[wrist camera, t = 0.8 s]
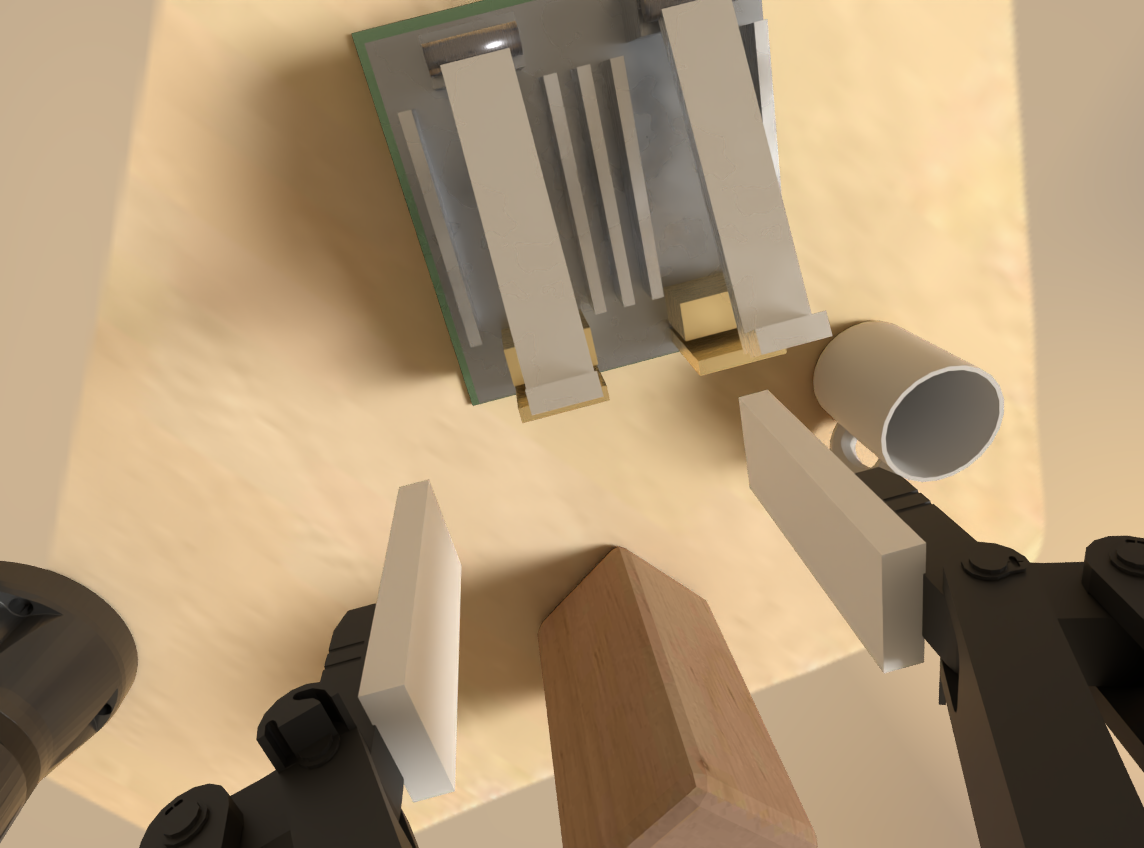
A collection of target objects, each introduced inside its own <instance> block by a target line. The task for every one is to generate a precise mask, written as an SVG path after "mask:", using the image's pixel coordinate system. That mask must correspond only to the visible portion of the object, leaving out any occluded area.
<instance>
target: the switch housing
mask: <svg viewBox="0 0 1144 848" xmlns="http://www.w3.org/2000/svg"><path fill="white" fill-rule="evenodd" d="M732 3H733V7H734V11H735V15H736V19H737V23H738V27H739V31H740V35H741V38H742V42H743V46H744V50H745V54H746V58H747V62H748V66H749V70H750V74H751V78H752V82H753V86H754V90H755V94H756V98H757V101H758V105H759V109H760V113H761V117H762V121H763V125H764V129H765V133H766V137H767V141H768V145H769V149H770V153H771V157H772V160H773V164H774V168H775V172H776V176H777V180H778V184H779V188H780V192H781V182H780V170H779V158H778V145H777V133H776V120H775V108H774V96H773V83H772V71H771V58H770V46H769V34H768V21H767V19H765V20H763V11H762V0H736V1H732ZM512 21H516V24H517V27H518V31H519V35H520V40H521V44H522V50H523V55H519V56H515V57H512V60H513V64H514V67H515V71H516V75H517V79H518V83H519V87H520V90H521V94H522V98H523V102H524V106H525V109H526V113H527V117H528V121H529V125H530V128H531V132H532V136H533V140H534V144H535V147H536V151H537V155H538V159H539V163H540V166H541V170H542V174H543V178H544V182H545V185H546V189H547V193H548V197H549V201H550V204H551V208H552V212H553V216H554V220H555V224H556V227H557V231H558V235H559V239H560V243H561V246H562V250H563V254H564V258H565V262H566V265H567V269H568V273H569V277H570V281H571V284H572V288H573V292H574V296H575V300H576V303H577V307H578V311H579V315H580V319H581V322H582V326H583V330H584V334H585V338H586V342H587V345H588V349H589V353H590V357H591V361H592V364H593V368H594V371H597V373H598V377H599V381H600V384H601V388H602V392H603V396H604V397H600V398H597V399H593V400H589V401H585V402H581V403H578V404H574V405H570V406H566V407H562V408H559V409H555V410H551V411H547V412H544V413H540V414H536V415H532V414H531V410H530V407H529V403H528V399H527V395H526V392H525V390H526V387H525V383H524V379H523V375H522V372H521V368H520V364H519V360H518V357H517V353H516V349H515V345H514V341H513V338H512V334H511V330H510V326H509V323H508V319H507V315H506V311H505V308H504V304H503V300H502V296H501V292H500V289H499V285H498V281H497V277H496V274H495V270H494V266H493V262H492V259H491V255H490V251H489V247H488V244H487V240H486V236H485V232H484V228H483V225H482V221H481V217H480V213H479V210H478V206H477V202H476V198H475V195H474V191H473V187H472V183H471V179H470V176H469V172H468V168H467V164H466V161H465V157H464V153H463V149H462V146H461V142H460V138H459V134H458V130H457V127H456V123H455V119H454V115H453V112H452V108H451V104H450V100H449V97H448V93H447V89H446V85H445V82H444V78H443V75H440V76H436V77H432V78H431V76H430V73H429V70H428V67H427V64H426V60H425V57H424V53H423V49H422V45H421V44H424V43H428V42H432V41H436V40H440V39H444V38H448V37H452V36H456V35H460V34H464V33H468V32H472V31H476V30H480V29H484V28H488V27H492V26H496V25H500V24H504V23H508V22H512ZM352 37H353V40H354V43H355V46H356V49H357V52H358V55H359V58H360V61H361V65H362V68H363V71H364V74H365V77H366V80H367V83H368V86H369V89H370V92H371V95H372V98H373V101H374V104H375V108H376V111H377V114H378V117H379V120H380V123H381V126H382V129H383V132H384V135H385V138H386V141H387V144H388V147H389V150H390V154H391V157H392V160H393V163H394V166H395V169H396V172H397V175H398V178H399V181H400V184H401V187H402V190H403V193H404V196H405V200H406V203H407V206H408V209H409V212H410V215H411V218H412V221H413V224H414V227H415V230H416V233H417V236H418V239H419V243H420V246H421V249H422V252H423V255H424V258H425V261H426V264H427V267H428V270H429V273H430V276H431V279H432V282H433V285H434V289H435V292H436V295H437V298H438V301H439V304H440V307H441V310H442V313H443V316H444V319H445V322H446V325H447V328H448V331H449V335H450V338H451V341H452V344H453V347H454V350H455V353H456V356H457V359H458V362H459V365H460V368H461V371H462V374H463V378H464V381H465V384H466V387H467V390H468V393H469V396H470V399H471V402H472V405H473V406H474V405H478V404H482V403H486V402H489V401H493V400H497V399H501V398H505V397H508V396H512V395H516V396H517V403H518V409H519V413H520V416H521V420H522V423H525V422H529V421H532V420H536V419H540V418H544V417H548V416H551V415H555V414H559V413H563V412H566V411H570V410H574V409H578V408H582V407H585V406H589V405H593V404H597V403H601V402H604V401H608V400H610V399H609V394H608V390H607V385H606V383H605V381H604V379H603V377H602V375H601V373H600V372H603V371H607V370H611V369H615V368H618V367H622V366H626V365H630V364H634V363H637V362H641V361H645V360H649V359H653V358H656V357H660V356H664V355H668V354H672V353H675V352H679V351H680V352H681V353H682V355H683V356H684V357H685V358H686V359H687V361H688V362H689V363H690V364H691V365H692V367H693V368H694V369H695V370H696V371H697V373H698V374H699V375H700V376H703V375H706V374H710V373H714V372H718V371H722V370H725V369H729V368H733V367H737V366H741V365H744V364H748V363H752V362H756V361H759V360H763V359H767V358H771V357H775V356H778V355H782V354H786V353H787V350H786V349H782V350H778V351H775V352H771V353H767V354H763V355H759V356H756V357H752V358H751V356H750V353H748V354H744V352H743V349H742V345H741V341H740V337H739V333H738V329H737V325H736V321H735V317H734V314H733V310H732V306H731V302H730V298H729V294H728V290H727V286H726V282H725V279H724V275H723V271H722V267H721V263H720V259H719V255H718V251H717V247H716V244H715V240H714V236H713V232H712V228H711V224H710V220H709V216H708V212H707V208H706V205H705V201H704V197H703V193H702V189H701V185H700V181H699V177H698V173H697V170H696V166H695V162H694V158H693V154H692V150H691V146H690V142H689V138H688V135H687V131H686V127H685V123H684V119H683V115H682V111H681V107H680V103H679V100H678V96H677V92H676V88H675V84H674V80H673V76H672V72H671V68H670V65H669V61H668V57H667V53H666V49H665V45H664V41H663V37H662V33H661V30H660V26H659V22H658V20H657V21H653V22H649V23H646V22H645V20H644V18H643V14H642V9H641V0H483V1H479V2H475V3H471V4H467V5H463V6H459V7H455V8H451V9H447V10H443V11H439V12H435V13H431V14H427V15H423V16H419V17H415V18H411V19H408V20H404V21H400V22H396V23H392V24H388V25H384V26H380V27H376V28H372V29H368V30H364V31H360V32H356V33H352ZM781 196H782V195H781Z"/></svg>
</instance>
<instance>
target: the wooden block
mask: <svg viewBox="0 0 1144 848" xmlns="http://www.w3.org/2000/svg"><path fill="white" fill-rule="evenodd" d="M538 641H539V649H540V658H541V666H542V674H543V683H544V691H545V700H546V708H547V717H548V725H549V733H550V742H551V750H552V759H553V767H554V776H555V784H556V792H557V801H558V809H559V818H560V826H561V835H562V843H563V848H817V847H818V844H817V837H816V834H815V832H814V830H813V827H812V825H811V823H810V821H809V819H808V817H807V815H806V812H805V810H804V808H803V806H802V804H801V802H800V800H799V797H798V796H797V793H796V791H795V789H794V787H793V785H792V782H791V780H790V778H789V776H788V774H787V772H786V770H785V767H784V765H783V763H782V761H781V759H780V757H779V755H778V753H777V750H776V749H775V746H774V744H773V742H772V740H771V738H770V735H769V733H768V731H767V729H766V727H765V725H764V723H763V720H762V719H761V716H760V714H759V712H758V710H757V708H756V705H755V703H754V701H753V699H752V697H751V695H750V693H749V690H748V688H747V686H746V684H745V682H744V680H743V678H742V676H741V673H740V671H739V669H738V667H737V665H736V663H735V661H734V658H733V656H732V654H731V652H730V650H729V648H728V646H727V643H726V641H725V639H724V637H723V635H722V633H721V631H720V628H719V626H718V624H717V622H716V620H715V618H714V616H713V613H712V611H711V609H710V607H709V605H708V603H707V602H706V600H704V599H703V598H701V597H700V596H698V595H697V594H695V593H694V592H692V591H690V590H689V589H687V588H686V587H684V586H683V585H681V584H680V583H678V582H677V581H675V580H673V579H672V578H670V577H669V576H667V575H666V574H664V573H663V572H661V571H660V570H658V569H656V568H655V567H653V566H652V565H650V564H649V563H647V562H646V561H644V560H642V559H641V558H639V557H638V556H636V555H635V554H633V553H632V552H630V551H629V550H627V549H625V548H622V547H617V548H615V549H613V550H611V551H610V552H609V553H608V554H607V556H606V557H605V558H604V559H603V560H602V561H601V562H600V563H599V564H598V565H597V566H596V567H595V568H594V569H593V570H592V571H591V572H590V573H589V574H588V575H587V576H586V577H585V578H584V579H583V580H582V582H581V583H580V584H579V585H578V586H577V587H576V588H575V589H574V590H573V591H572V592H571V593H570V594H569V595H568V596H567V597H566V598H565V599H564V600H563V601H562V602H561V603H560V604H559V605H558V606H557V607H556V609H555V610H554V611H553V612H552V613H551V614H550V615H549V616H548V617H547V618H546V619H545V620H544V621H543V622H542V624H541V627H540V629H539V632H538Z"/></svg>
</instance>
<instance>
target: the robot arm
mask: <svg viewBox="0 0 1144 848" xmlns="http://www.w3.org/2000/svg"><path fill="white" fill-rule="evenodd" d="M738 398H739V406H740V414H741V422H742V430H743V438H744V446H745V454H746V462H747V470H748V478H749V486H750V489H751V490H752V491H753V493H754V494H755V496H756V497H757V498H758V500H759V501H760V503H761V504H762V505H763V507H764V508H765V509H766V511H767V512H768V514H769V515H770V516H771V518H772V519H773V521H774V522H775V523H776V525H777V526H778V527H779V529H780V530H781V532H782V533H783V534H784V536H785V537H786V539H787V540H788V541H789V543H790V544H791V545H792V547H793V548H794V550H795V551H796V552H797V554H798V555H799V557H800V558H801V559H802V561H803V562H804V563H805V565H806V566H807V568H808V569H809V570H810V572H811V573H812V575H813V576H814V577H815V579H816V580H817V582H818V583H819V584H820V586H821V587H822V588H823V590H824V591H825V593H826V594H827V595H828V597H829V598H830V600H831V601H832V602H833V604H834V605H835V606H836V608H837V609H838V611H839V612H840V613H841V615H842V616H843V618H844V619H845V620H846V622H847V623H848V624H849V626H850V627H851V629H852V630H853V631H854V633H855V634H856V636H857V637H858V638H859V640H860V641H861V642H862V644H863V645H864V647H865V648H866V649H867V651H868V652H869V654H870V655H871V656H872V657H873V659H874V660H875V662H876V663H877V665H878V666H879V667H880V669H881V670H882V672H883V673H887V672H891V671H894V670H898V669H902V668H905V667H909V666H913V665H916V664H920V663H923V662H924V638H925V640H926V641H927V642H928V643H929V644H930V645H931V647H932V648H933V649H934V650H935V651H936V652H937V654H938V655H939V656H940V682H939V704H940V705H946V703H947V707H948V712H949V716H950V720H951V724H952V728H953V733H954V737H955V741H956V745H957V749H958V753H959V758H960V762H961V766H962V771H963V775H964V779H965V783H966V787H967V792H968V796H969V800H970V804H971V808H972V812H973V817H974V821H975V825H976V829H977V834H978V838H979V842H980V846H981V848H1144V807H1143V805H1142V803H1141V801H1140V798H1139V796H1138V794H1137V792H1136V790H1135V787H1134V785H1133V783H1132V781H1131V779H1130V777H1129V774H1128V772H1127V770H1126V768H1125V766H1124V763H1123V761H1122V759H1121V757H1120V755H1119V753H1118V750H1117V748H1116V746H1115V744H1114V742H1113V739H1112V737H1111V735H1110V733H1109V731H1108V729H1107V727H1106V725H1107V726H1108V727H1109V729H1110V730H1111V731H1112V732H1113V734H1114V735H1115V736H1116V738H1117V739H1118V740H1119V741H1120V743H1121V744H1122V745H1123V746H1124V748H1125V749H1126V750H1127V751H1128V753H1129V754H1130V755H1131V757H1132V758H1133V759H1134V760H1135V762H1136V763H1137V764H1138V765H1139V767H1140V768H1141V769H1142V771H1143V772H1144V538H1137V537H1132V536H1108V537H1104V538H1101V539H1098V540H1094V541H1093V542H1092V543H1091V544H1090V545H1089V546H1088V547H1086V552H1085V559H1084V562H1065V563H1030V562H1029V561H1028V560H1027V558H1026V557H1025V556H1023V555H1021V554H1020V553H1018V552H1016V551H1015V550H1013V549H1011V548H1008V547H1005V546H1002V545H998V544H995V543H985V542H977V541H976V540H975V539H974V538H972V537H971V536H970V535H969V534H968V533H967V532H965V531H964V530H963V529H962V528H961V527H960V526H959V525H957V524H956V523H955V522H954V521H953V520H952V519H950V518H949V517H948V516H947V515H946V514H945V513H944V512H942V511H941V510H940V509H939V508H938V507H937V506H935V505H934V504H931V502H930V500H929V499H927V498H926V497H925V496H924V495H923V494H922V493H918V490H917V489H916V488H915V487H914V486H912V485H911V484H910V483H909V482H908V481H907V480H905V479H904V478H903V477H902V476H900V475H897V474H895V473H893V472H890V471H888V470H885V469H883V468H880V467H876V468H872V469H869V470H865V471H861V472H858V473H853V472H852V471H851V470H850V469H849V468H848V467H847V466H846V465H845V464H844V463H843V462H842V461H841V460H840V459H839V458H838V457H837V456H836V455H835V454H834V453H833V452H832V451H830V450H829V449H828V448H827V447H826V446H825V445H824V444H823V443H822V442H821V441H820V440H819V439H818V438H817V437H816V436H815V435H814V434H813V433H812V432H811V431H810V430H809V429H808V428H807V427H806V426H805V425H804V424H803V423H802V422H801V421H799V420H798V419H797V418H796V417H795V416H794V415H793V414H792V413H791V412H790V411H789V410H788V409H787V408H786V407H785V406H784V405H783V404H782V403H781V402H780V401H779V400H778V399H777V398H776V397H775V396H774V395H773V394H772V393H771V392H769V391H768V390H764V391H761V392H757V393H753V394H749V395H746V396H742V397H738ZM460 595H461V563H460V560H459V557H458V555H457V552H456V549H455V547H454V544H453V542H452V539H451V536H450V534H449V531H448V528H447V526H446V523H445V520H444V518H443V515H442V513H441V510H440V507H439V505H438V502H437V499H436V497H435V494H434V491H433V489H432V486H431V484H430V481H429V480H425V481H421V482H417V483H414V484H410V485H406V486H402V487H399V491H398V496H397V501H396V506H395V511H394V516H393V521H392V526H391V532H390V537H389V542H388V547H387V552H386V557H385V562H384V567H383V572H382V577H381V582H380V587H379V592H378V598H377V603H376V604H372V605H368V606H364V607H361V608H357V609H353V610H349V611H348V612H347V613H346V614H345V616H344V617H343V619H342V620H341V621H340V623H339V624H338V626H337V627H336V628H335V630H334V632H333V636H332V639H331V643H330V647H329V654H327V658H326V662H325V666H324V667H325V670H323V673H322V677H321V681H320V682H318V683H310V684H306V685H303V686H301V687H298V688H296V689H294V690H291V691H290V692H289V693H287V694H286V695H284V696H283V697H281V698H280V699H279V700H277V701H276V702H275V703H274V704H273V705H272V707H271V708H270V709H269V710H268V711H267V712H266V713H265V715H264V716H263V718H262V720H261V722H260V724H259V726H258V730H257V739H256V740H257V741H258V743H259V744H260V746H261V747H262V749H263V751H264V752H265V754H266V755H267V757H268V758H269V760H270V761H271V763H272V764H273V766H274V767H275V769H276V770H275V771H273V772H272V773H270V774H269V775H267V776H266V777H264V778H262V779H261V780H259V781H257V782H255V783H253V784H251V785H250V786H248V787H246V788H244V789H242V790H241V791H239V792H237V793H235V794H233V795H231V796H230V795H229V794H228V793H227V792H226V790H225V789H224V788H223V787H222V786H221V785H215V784H206V785H202V786H198V787H194V788H192V789H190V790H188V791H187V792H185V793H183V794H181V795H179V796H177V797H176V798H175V799H174V800H173V801H172V802H170V803H169V804H168V805H167V806H166V807H164V808H163V809H162V810H161V811H160V812H159V814H158V815H157V816H156V817H155V819H154V820H153V821H152V822H151V824H150V825H149V826H148V828H147V830H146V833H145V835H144V837H143V839H142V841H141V844H140V847H139V848H419V847H418V845H417V842H416V839H415V837H414V834H413V832H412V829H411V827H410V824H409V822H408V820H407V818H406V816H405V814H404V812H403V811H402V809H401V804H402V794H403V785H405V787H406V789H407V791H408V793H409V795H410V797H411V799H412V801H413V802H417V801H421V800H425V799H428V798H432V797H436V796H439V795H443V794H447V793H450V792H454V791H455V772H456V736H457V701H458V665H459V630H460ZM137 665H138V657H137V650H136V646H135V642H134V639H133V637H132V635H131V633H130V631H129V629H128V627H127V626H126V624H125V623H124V621H123V620H122V619H121V617H120V616H119V615H118V614H117V613H116V611H115V610H114V609H113V608H112V607H111V606H110V605H109V604H107V603H106V602H105V601H104V600H103V599H102V598H100V597H99V596H98V595H96V594H95V593H93V592H92V591H90V590H89V589H87V588H86V587H84V586H82V585H81V584H79V583H77V582H75V581H73V580H71V579H69V578H66V577H64V576H62V575H59V574H57V573H54V572H51V571H48V570H45V569H42V568H38V567H35V566H30V565H25V564H20V563H14V562H6V561H0V842H1V841H2V839H3V838H4V836H5V835H6V833H7V831H8V830H9V828H10V827H11V825H12V824H13V822H14V820H15V819H16V817H17V816H18V814H19V812H20V811H21V809H22V807H23V806H24V804H25V803H26V801H27V800H28V798H29V797H30V795H31V794H32V792H33V790H34V789H35V787H36V786H37V785H38V783H39V782H40V781H41V780H42V779H43V778H44V777H46V776H47V775H48V774H49V773H50V772H51V771H52V770H54V769H55V768H56V767H57V766H58V765H59V764H61V763H62V762H63V761H64V760H65V759H66V758H68V757H69V756H70V755H71V754H72V753H73V752H74V751H76V750H77V749H78V748H79V747H80V746H81V745H83V744H84V743H85V742H86V741H87V740H88V739H90V738H91V737H92V736H93V735H94V734H95V733H96V732H98V731H99V730H100V729H101V728H102V727H103V726H104V725H105V724H106V723H107V722H108V721H109V720H110V719H111V718H112V716H113V715H114V714H115V712H116V711H117V709H118V708H119V706H120V705H121V703H122V701H123V700H124V698H125V696H126V694H127V693H128V691H129V689H130V688H131V686H132V684H133V682H134V679H135V676H136V672H137ZM1105 723H1106V724H1105Z"/></svg>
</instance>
